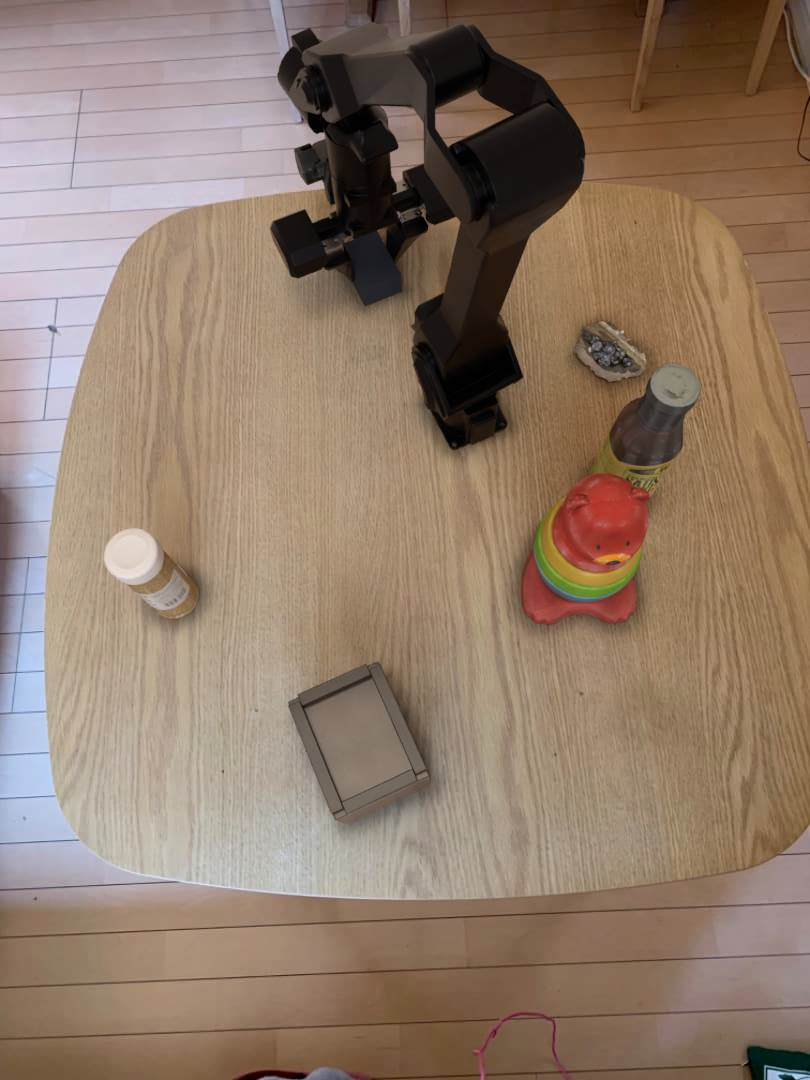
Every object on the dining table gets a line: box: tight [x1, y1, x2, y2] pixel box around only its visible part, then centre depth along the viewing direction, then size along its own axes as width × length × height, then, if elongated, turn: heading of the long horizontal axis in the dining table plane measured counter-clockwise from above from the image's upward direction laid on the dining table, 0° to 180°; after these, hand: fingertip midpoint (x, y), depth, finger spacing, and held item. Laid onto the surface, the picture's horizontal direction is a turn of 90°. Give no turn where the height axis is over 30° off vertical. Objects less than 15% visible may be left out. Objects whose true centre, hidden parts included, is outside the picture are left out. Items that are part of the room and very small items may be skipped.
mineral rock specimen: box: [571, 320, 648, 383], centre depth 89 cm, size 7×8×2 cm
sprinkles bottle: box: [103, 527, 200, 620], centre depth 76 cm, size 5×5×13 cm
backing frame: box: [287, 661, 431, 825], centre depth 71 cm, size 10×8×11 cm
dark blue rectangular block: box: [343, 230, 403, 307], centre depth 93 cm, size 6×4×3 cm
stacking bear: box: [520, 473, 651, 626], centre depth 73 cm, size 11×10×18 cm
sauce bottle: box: [588, 363, 702, 498], centre depth 75 cm, size 7×6×20 cm
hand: (371, 271), depth 93 cm, fingers closed on dark blue rectangular block, 4 cm apart
